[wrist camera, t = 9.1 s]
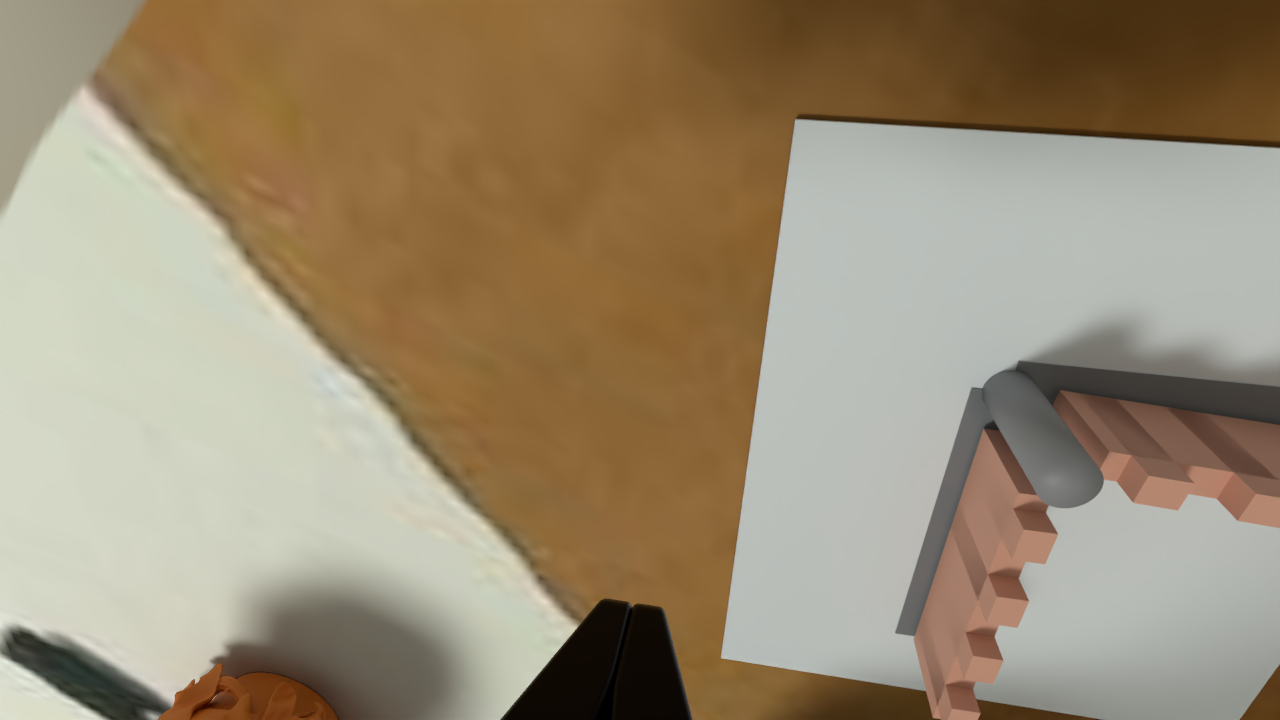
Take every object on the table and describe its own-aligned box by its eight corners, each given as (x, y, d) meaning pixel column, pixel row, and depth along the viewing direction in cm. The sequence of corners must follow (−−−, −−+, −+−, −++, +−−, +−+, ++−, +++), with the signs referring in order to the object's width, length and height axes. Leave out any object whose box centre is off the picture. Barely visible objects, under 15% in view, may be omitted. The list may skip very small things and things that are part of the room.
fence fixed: (942, 635, 24) (979, 758, 20) (902, 629, 24) (930, 749, 20) (1038, 369, 19) (1113, 463, 15) (986, 364, 19) (1047, 455, 15)
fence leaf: (1048, 413, 19) (1110, 499, 16) (1059, 390, 18) (1125, 471, 15) (1392, 469, 18) (1535, 572, 15) (1410, 445, 18) (1561, 545, 14)
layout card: (1221, 733, 24) (1226, 740, 24) (721, 653, 26) (720, 658, 26) (1626, 168, 15) (1639, 170, 14) (795, 118, 17) (795, 119, 17)
